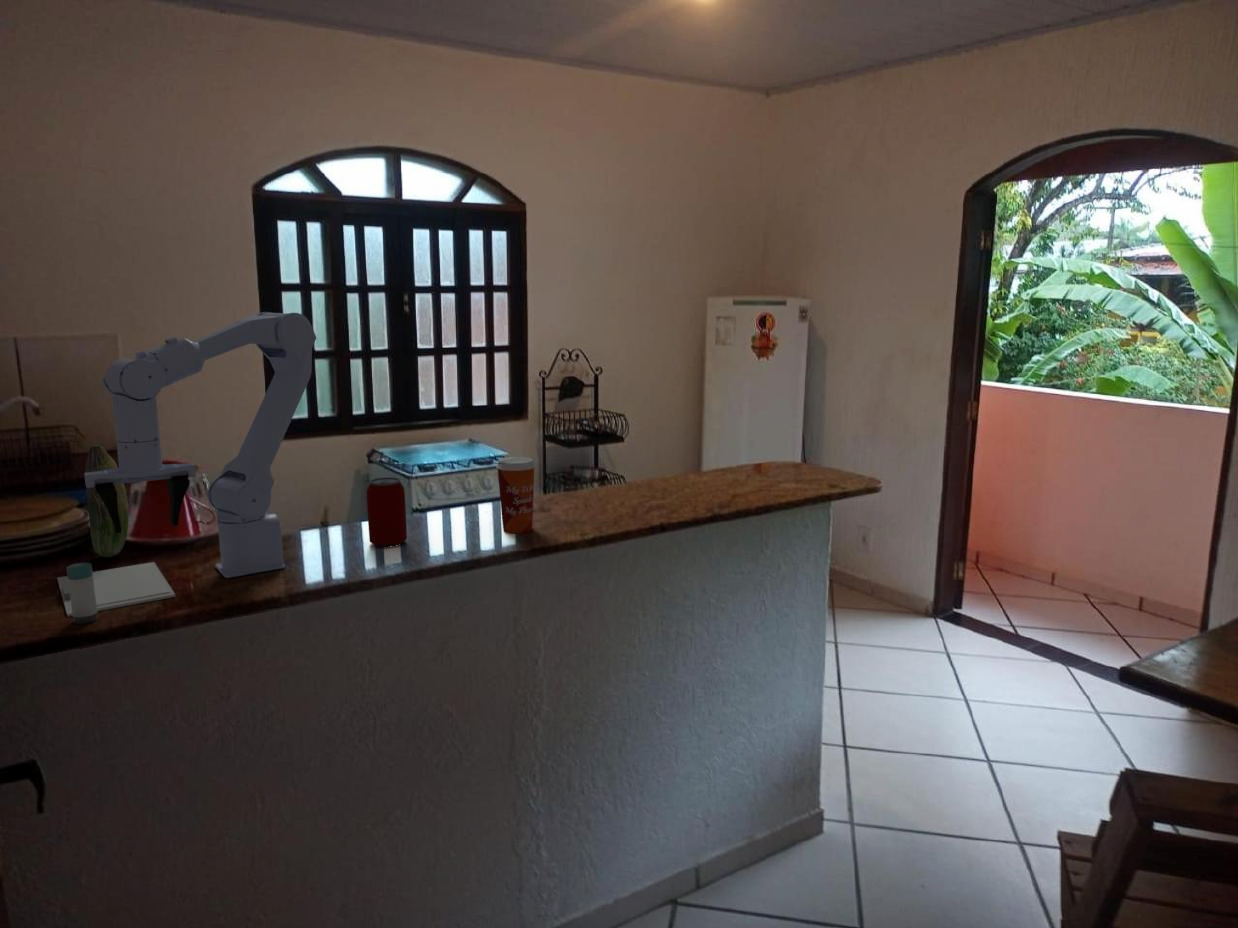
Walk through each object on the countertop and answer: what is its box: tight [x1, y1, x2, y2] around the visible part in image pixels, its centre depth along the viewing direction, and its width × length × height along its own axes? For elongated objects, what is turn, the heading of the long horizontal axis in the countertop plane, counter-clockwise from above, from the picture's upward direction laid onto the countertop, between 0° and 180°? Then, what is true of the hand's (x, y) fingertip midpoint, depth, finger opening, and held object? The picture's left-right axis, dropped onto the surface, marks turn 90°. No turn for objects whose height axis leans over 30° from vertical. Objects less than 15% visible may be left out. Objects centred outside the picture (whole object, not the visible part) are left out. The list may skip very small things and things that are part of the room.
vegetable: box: [84, 444, 130, 558], centre depth 149 cm, size 6×6×20 cm
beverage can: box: [366, 477, 408, 548], centre depth 158 cm, size 7×7×12 cm
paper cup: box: [495, 456, 537, 535], centre depth 167 cm, size 8×8×14 cm
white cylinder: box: [66, 562, 99, 625], centre depth 121 cm, size 3×3×8 cm
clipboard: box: [57, 561, 176, 618], centre depth 135 cm, size 14×20×1 cm
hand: (146, 527), depth 131 cm, fingers open, 7 cm apart
